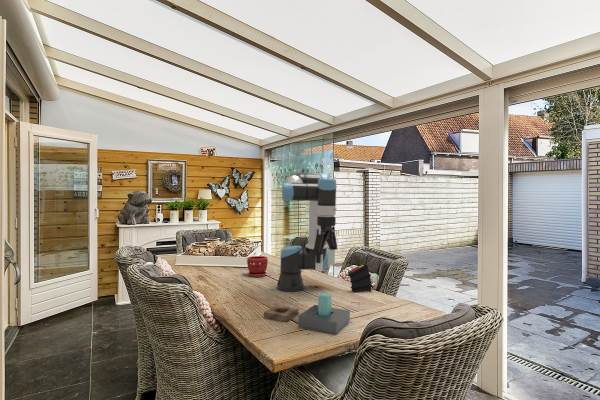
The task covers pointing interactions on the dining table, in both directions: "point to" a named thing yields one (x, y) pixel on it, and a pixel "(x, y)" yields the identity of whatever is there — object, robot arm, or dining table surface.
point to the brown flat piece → (281, 313)
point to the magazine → (360, 278)
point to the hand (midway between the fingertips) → (325, 267)
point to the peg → (324, 304)
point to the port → (324, 320)
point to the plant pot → (257, 266)
